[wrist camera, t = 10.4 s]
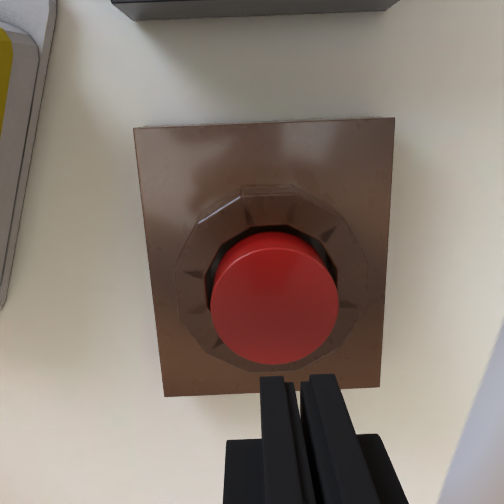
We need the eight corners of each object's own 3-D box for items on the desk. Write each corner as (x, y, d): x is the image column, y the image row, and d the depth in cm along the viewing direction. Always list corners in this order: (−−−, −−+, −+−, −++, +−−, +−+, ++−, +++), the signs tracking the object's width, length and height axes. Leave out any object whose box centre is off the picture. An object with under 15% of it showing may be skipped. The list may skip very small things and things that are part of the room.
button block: (143, 126, 19) (118, 130, 15) (380, 116, 19) (415, 118, 15) (170, 373, 22) (156, 427, 19) (368, 364, 22) (394, 416, 19)
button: (210, 232, 16) (205, 250, 14) (328, 227, 16) (340, 244, 14) (217, 338, 18) (214, 368, 16) (327, 333, 18) (338, 362, 16)
